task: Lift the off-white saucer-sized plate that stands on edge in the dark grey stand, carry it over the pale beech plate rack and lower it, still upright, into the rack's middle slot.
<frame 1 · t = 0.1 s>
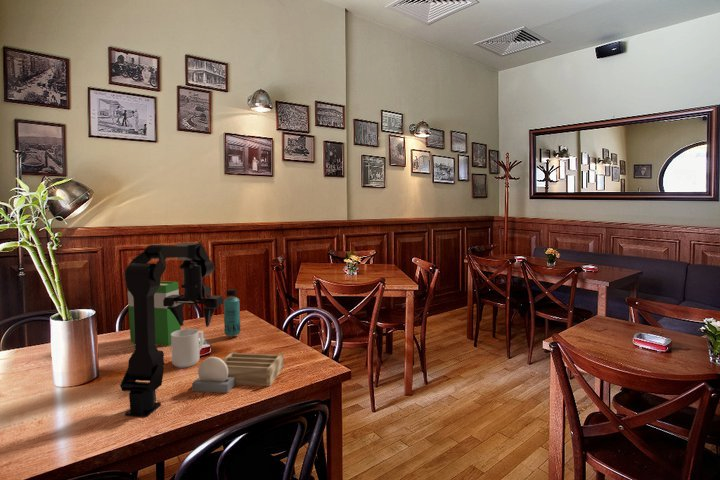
hand: (194, 326, 137), 15 cm above the table, tool pointing down, fingers open, 9 cm apart
green cereal box: (156, 341, 166), on the table
rack: (250, 375, 133), on the table
mug: (189, 362, 144), on the table
stand: (214, 388, 124), on the table
plate: (213, 371, 123), point 5 cm above the table, touching stand
beverage bottle: (232, 337, 170), on the table
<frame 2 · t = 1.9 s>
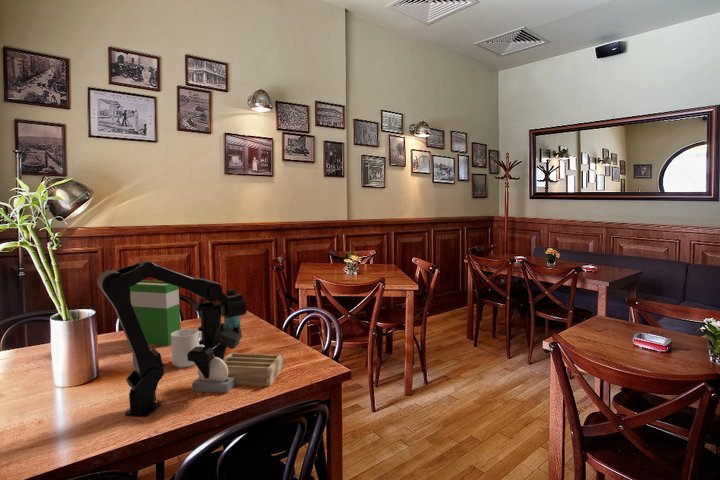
hand: (213, 372, 124), 5 cm above the table, tool pointing down, fingers open, 8 cm apart
nothing on the table moved.
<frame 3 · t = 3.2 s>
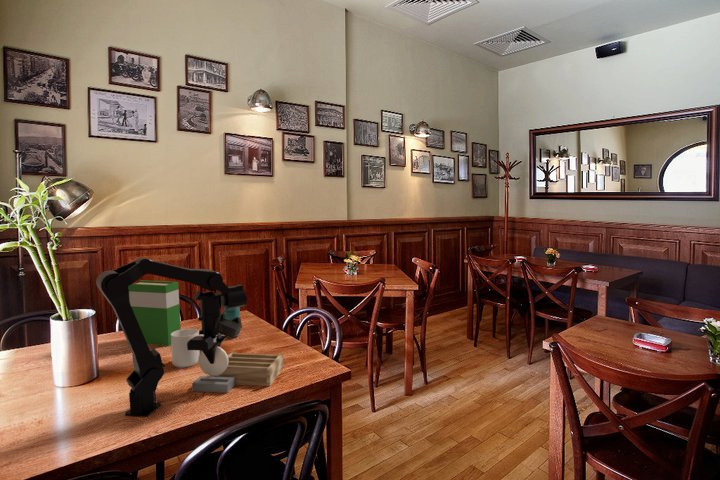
hand: (213, 362, 123), 8 cm above the table, tool pointing down, fingers closed on plate
plate: (213, 360, 123), point 9 cm above the table, touching gripper
everything else where it was.
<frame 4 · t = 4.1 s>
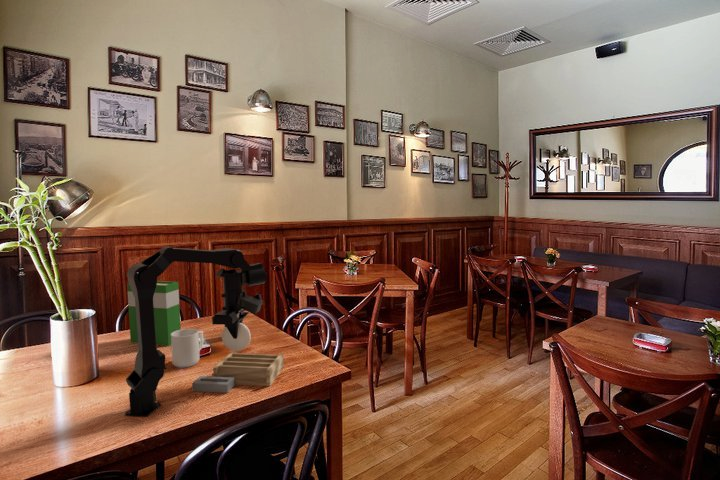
hand: (236, 337, 128), 14 cm above the table, tool pointing down, fingers closed on plate
plate: (236, 336, 128), point 14 cm above the table, touching gripper
everything else where it was.
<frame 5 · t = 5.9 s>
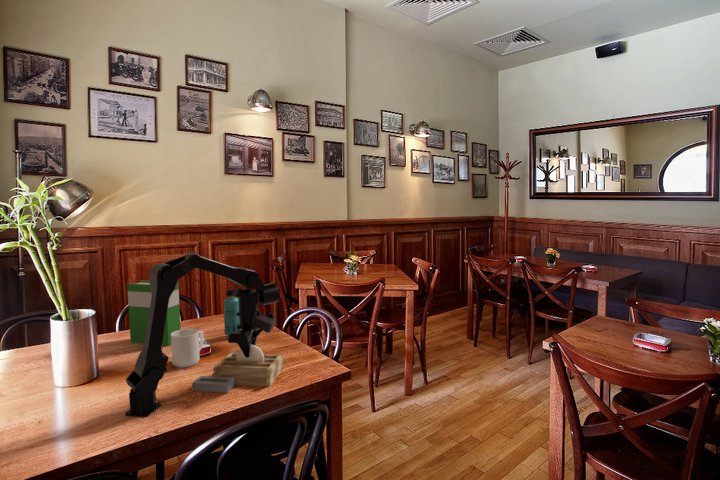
hand: (249, 355, 132), 7 cm above the table, tool pointing down, fingers open, 3 cm apart
plate: (250, 358, 132), point 6 cm above the table, touching rack
everything else where it was.
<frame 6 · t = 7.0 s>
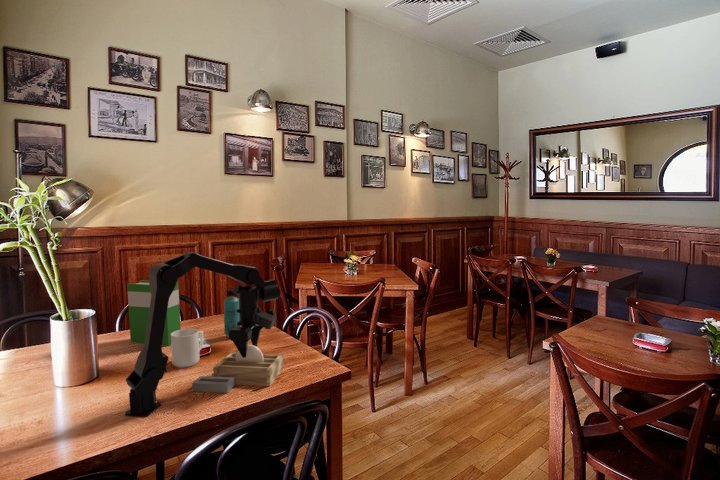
hand: (249, 351, 132), 8 cm above the table, tool pointing down, fingers open, 9 cm apart
nothing on the table moved.
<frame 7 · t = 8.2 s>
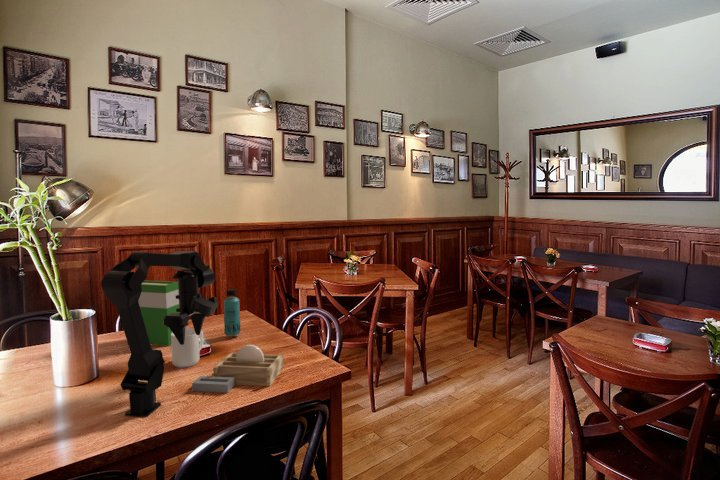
hand: (190, 339, 129), 13 cm above the table, tool pointing down, fingers open, 9 cm apart
nothing on the table moved.
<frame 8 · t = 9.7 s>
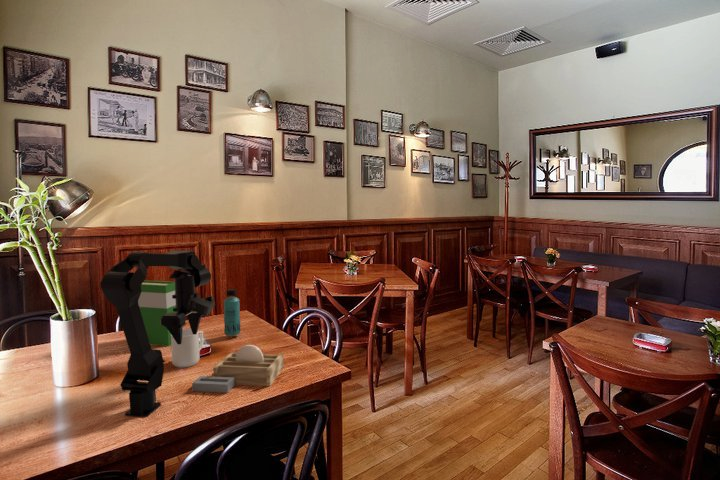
hand: (187, 339, 129), 13 cm above the table, tool pointing down, fingers open, 9 cm apart
nothing on the table moved.
at the end: plate inside the target area on the rack (0.1 cm from its centre), point 5.5 cm above the rack's base; plate tilted 1°; the gripper is holding nothing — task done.
